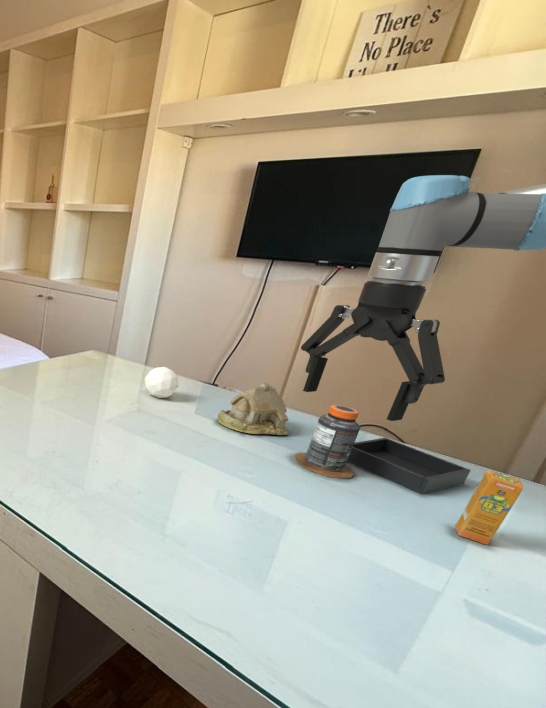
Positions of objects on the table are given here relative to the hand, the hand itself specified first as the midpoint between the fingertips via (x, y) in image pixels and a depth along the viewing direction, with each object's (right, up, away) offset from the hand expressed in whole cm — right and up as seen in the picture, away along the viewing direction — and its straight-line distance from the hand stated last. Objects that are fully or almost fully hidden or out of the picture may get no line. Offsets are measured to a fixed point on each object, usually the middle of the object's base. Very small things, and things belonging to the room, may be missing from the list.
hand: (348, 404), depth 80 cm
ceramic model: (-4, -6, +20) cm, 22 cm away
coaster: (-1, -12, +4) cm, 13 cm away
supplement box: (+6, -19, -14) cm, 24 cm away
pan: (+14, -13, +5) cm, 19 cm away
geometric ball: (-19, +1, +35) cm, 40 cm away
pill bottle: (-1, -11, +4) cm, 12 cm away
